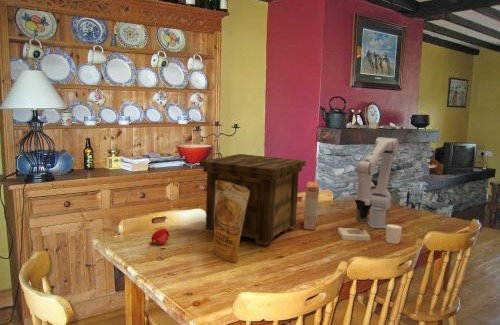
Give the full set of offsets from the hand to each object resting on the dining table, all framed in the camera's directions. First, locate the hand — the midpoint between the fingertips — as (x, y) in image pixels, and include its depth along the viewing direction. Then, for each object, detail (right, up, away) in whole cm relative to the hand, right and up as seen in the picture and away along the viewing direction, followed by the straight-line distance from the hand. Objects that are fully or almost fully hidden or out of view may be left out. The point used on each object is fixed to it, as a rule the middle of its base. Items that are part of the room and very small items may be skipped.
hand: (361, 217), depth 182 cm
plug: (0, -2, 0) cm, 2 cm away
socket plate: (-4, -9, -1) cm, 9 cm away
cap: (-87, -8, -20) cm, 90 cm away
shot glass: (+12, -10, -6) cm, 17 cm away
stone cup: (+18, -3, +44) cm, 48 cm away
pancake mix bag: (-60, -11, -30) cm, 68 cm away
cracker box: (-22, -6, +13) cm, 26 cm away
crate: (-50, -7, 0) cm, 50 cm away
